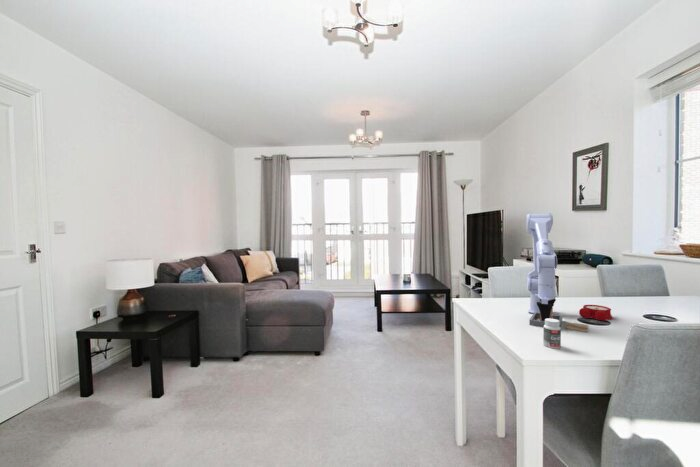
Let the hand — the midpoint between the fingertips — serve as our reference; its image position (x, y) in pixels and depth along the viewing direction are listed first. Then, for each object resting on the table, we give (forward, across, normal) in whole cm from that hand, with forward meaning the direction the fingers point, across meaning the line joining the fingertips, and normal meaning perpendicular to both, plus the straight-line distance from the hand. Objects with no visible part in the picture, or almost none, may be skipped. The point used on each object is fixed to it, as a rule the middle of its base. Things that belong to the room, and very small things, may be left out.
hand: (546, 318), depth 128 cm
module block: (+2, 0, 0) cm, 2 cm away
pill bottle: (+2, +27, +4) cm, 27 cm away
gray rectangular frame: (+2, 0, 0) cm, 2 cm away
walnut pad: (+2, 0, +10) cm, 10 cm away
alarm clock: (+2, -21, +16) cm, 26 cm away
